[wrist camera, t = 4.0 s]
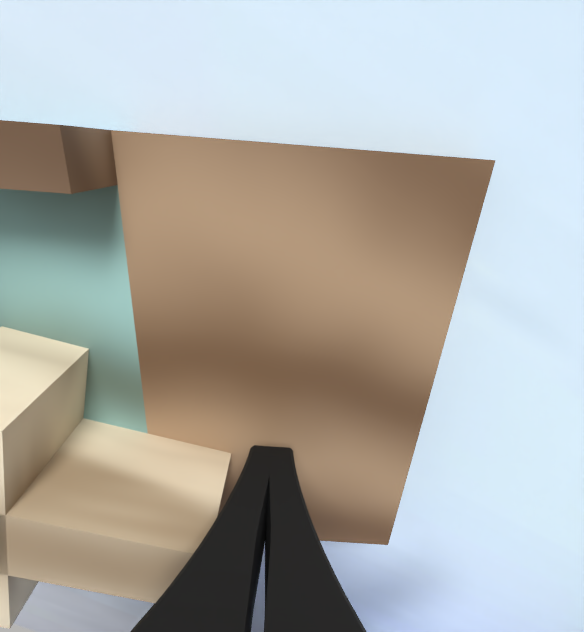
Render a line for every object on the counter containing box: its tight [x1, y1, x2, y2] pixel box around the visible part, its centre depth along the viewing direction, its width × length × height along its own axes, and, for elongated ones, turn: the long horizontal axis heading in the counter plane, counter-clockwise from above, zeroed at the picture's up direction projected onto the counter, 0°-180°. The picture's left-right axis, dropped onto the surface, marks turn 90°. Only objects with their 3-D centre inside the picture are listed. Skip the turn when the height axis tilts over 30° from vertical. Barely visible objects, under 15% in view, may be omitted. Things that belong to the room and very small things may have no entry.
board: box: [0, 120, 495, 545], centre depth 11 cm, size 14×17×3 cm
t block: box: [0, 326, 231, 629], centre depth 11 cm, size 8×8×4 cm
